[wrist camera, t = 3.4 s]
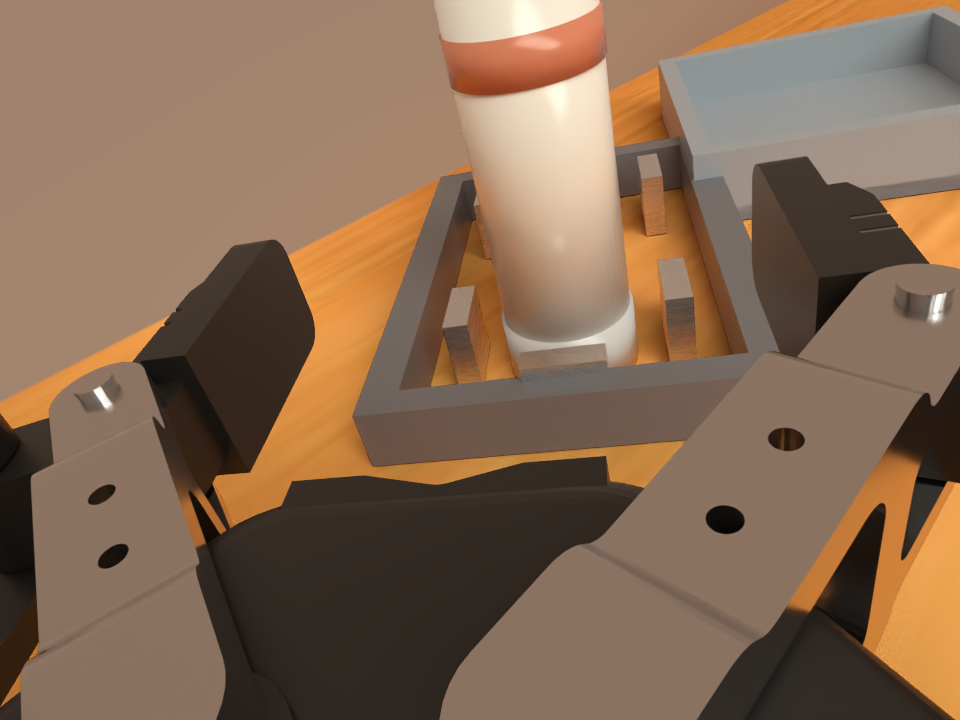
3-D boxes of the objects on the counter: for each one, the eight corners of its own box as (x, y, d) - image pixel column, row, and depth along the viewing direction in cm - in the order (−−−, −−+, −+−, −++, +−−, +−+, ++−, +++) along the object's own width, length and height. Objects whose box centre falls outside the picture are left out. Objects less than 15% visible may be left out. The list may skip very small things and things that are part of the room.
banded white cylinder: (508, 402, 23) (383, -116, 15) (516, 327, 26) (417, -129, 18) (643, 389, 22) (589, -169, 14) (633, 313, 25) (585, -171, 17)
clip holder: (373, 466, 22) (346, 403, 20) (450, 214, 36) (438, 167, 34) (803, 429, 19) (807, 354, 18) (705, 174, 33) (703, 121, 32)
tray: (695, 226, 29) (692, 156, 28) (661, 115, 40) (658, 60, 39) (1089, 170, 26) (1112, 87, 25) (935, 67, 38) (944, 5, 36)
